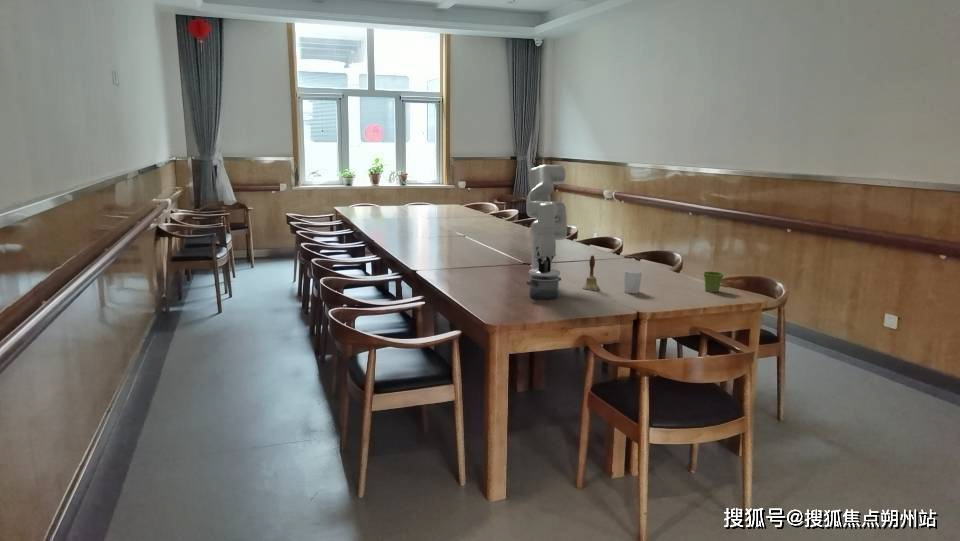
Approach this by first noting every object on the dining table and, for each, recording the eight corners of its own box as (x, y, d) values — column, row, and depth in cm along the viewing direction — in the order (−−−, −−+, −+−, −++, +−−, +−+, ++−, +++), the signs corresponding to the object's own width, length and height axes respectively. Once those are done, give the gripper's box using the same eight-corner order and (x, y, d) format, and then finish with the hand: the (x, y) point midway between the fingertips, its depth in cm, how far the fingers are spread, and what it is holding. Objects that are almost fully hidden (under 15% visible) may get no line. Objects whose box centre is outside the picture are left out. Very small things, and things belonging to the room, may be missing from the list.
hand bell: (579, 287, 312) (580, 254, 309) (594, 285, 315) (595, 253, 312) (587, 290, 304) (589, 257, 301) (603, 289, 307) (604, 256, 304)
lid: (543, 269, 300) (544, 256, 299) (566, 274, 290) (566, 261, 289) (522, 273, 291) (522, 260, 290) (545, 278, 281) (545, 264, 280)
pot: (546, 290, 303) (546, 272, 301) (567, 296, 293) (568, 276, 292) (519, 296, 292) (519, 277, 290) (540, 302, 282) (541, 282, 280)
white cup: (628, 294, 298) (629, 273, 296) (620, 290, 306) (621, 270, 304) (643, 293, 300) (644, 272, 298) (635, 289, 308) (636, 269, 306)
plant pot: (724, 290, 308) (725, 272, 307) (720, 294, 300) (721, 276, 299) (704, 288, 313) (705, 270, 311) (699, 291, 305) (701, 273, 303)
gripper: (552, 228, 295) (550, 268, 298) (526, 231, 284) (525, 272, 288) (564, 230, 289) (562, 270, 293) (539, 233, 278) (537, 275, 282)
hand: (544, 271), depth 290 cm, fingers closed on lid, 3 cm apart
